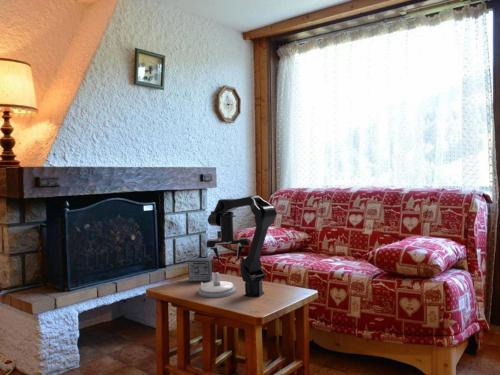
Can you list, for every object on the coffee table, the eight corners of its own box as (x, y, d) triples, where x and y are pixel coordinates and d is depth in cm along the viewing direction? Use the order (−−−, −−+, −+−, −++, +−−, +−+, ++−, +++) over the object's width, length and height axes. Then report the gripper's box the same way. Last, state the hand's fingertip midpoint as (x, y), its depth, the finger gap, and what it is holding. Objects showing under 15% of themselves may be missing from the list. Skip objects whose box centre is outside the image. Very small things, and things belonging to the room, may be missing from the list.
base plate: (241, 288, 188) (241, 281, 188) (224, 299, 174) (223, 290, 173) (210, 285, 195) (210, 278, 195) (191, 295, 181) (191, 287, 180)
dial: (233, 291, 178) (233, 279, 178) (200, 293, 177) (199, 281, 177) (232, 283, 192) (232, 271, 191) (201, 284, 191) (201, 273, 190)
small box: (212, 278, 208) (211, 257, 208) (210, 282, 202) (209, 260, 201) (191, 278, 209) (190, 257, 209) (188, 282, 203) (187, 260, 203)
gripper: (246, 223, 199) (247, 257, 199) (206, 226, 197) (207, 259, 197) (248, 226, 187) (249, 261, 188) (205, 228, 186) (207, 264, 186)
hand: (228, 261), depth 190 cm, fingers open, 8 cm apart
